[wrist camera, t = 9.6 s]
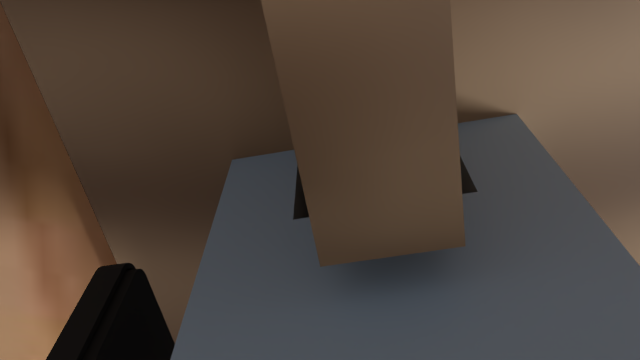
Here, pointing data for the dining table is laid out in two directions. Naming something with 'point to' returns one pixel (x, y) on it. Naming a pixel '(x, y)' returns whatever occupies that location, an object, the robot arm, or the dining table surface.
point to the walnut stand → (327, 112)
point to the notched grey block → (418, 272)
